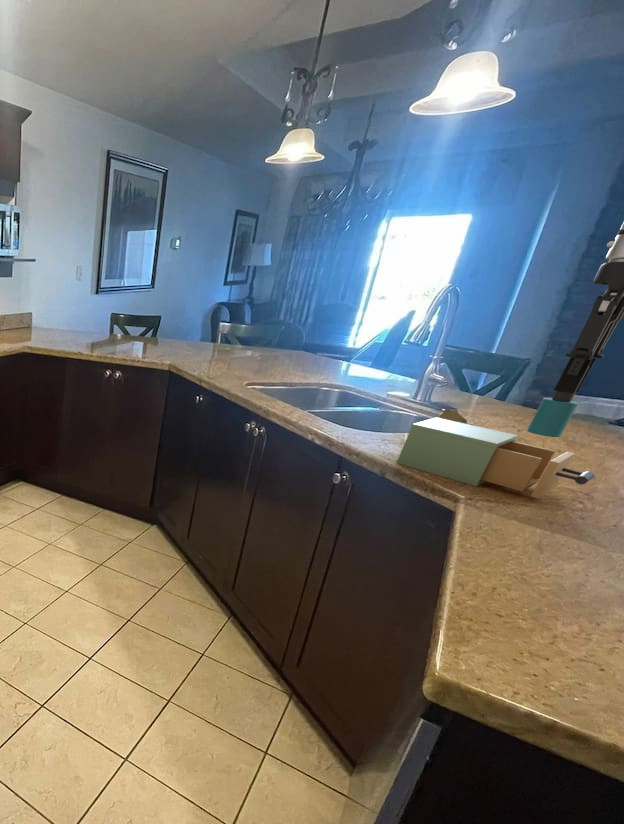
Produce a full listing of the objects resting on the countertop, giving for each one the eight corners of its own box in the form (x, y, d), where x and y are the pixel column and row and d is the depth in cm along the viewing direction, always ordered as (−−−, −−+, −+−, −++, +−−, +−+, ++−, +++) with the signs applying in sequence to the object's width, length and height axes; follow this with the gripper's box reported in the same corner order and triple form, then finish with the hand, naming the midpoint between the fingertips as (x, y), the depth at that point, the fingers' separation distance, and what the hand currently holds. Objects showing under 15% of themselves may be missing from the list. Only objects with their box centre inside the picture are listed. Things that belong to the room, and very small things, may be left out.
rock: (484, 443, 127) (440, 427, 134) (494, 421, 121) (447, 406, 129) (456, 469, 127) (413, 452, 134) (464, 449, 121) (419, 432, 128)
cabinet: (496, 475, 112) (518, 435, 108) (476, 486, 106) (497, 443, 102) (419, 454, 124) (435, 417, 120) (396, 463, 117) (412, 423, 113)
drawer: (584, 495, 101) (606, 460, 98) (569, 507, 95) (591, 470, 92) (473, 465, 115) (489, 433, 112) (453, 474, 109) (469, 441, 106)
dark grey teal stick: (563, 435, 100) (600, 366, 94) (556, 438, 97) (595, 368, 92) (530, 428, 104) (565, 362, 98) (523, 431, 101) (558, 363, 96)
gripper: (612, 263, 94) (549, 384, 104) (593, 259, 86) (528, 390, 96) (674, 264, 89) (602, 391, 98) (661, 260, 81) (584, 399, 90)
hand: (566, 390), depth 97 cm, fingers closed on dark grey teal stick, 3 cm apart
